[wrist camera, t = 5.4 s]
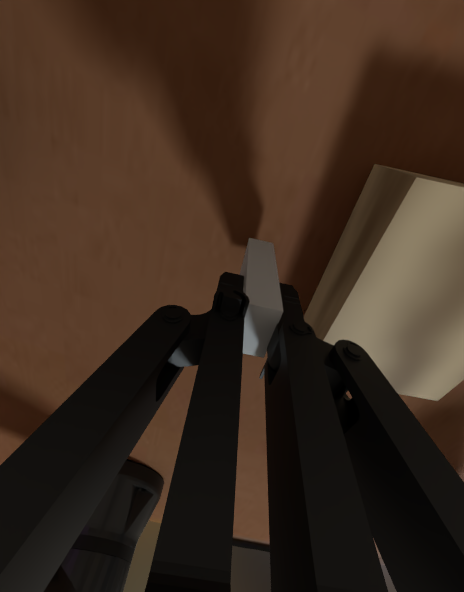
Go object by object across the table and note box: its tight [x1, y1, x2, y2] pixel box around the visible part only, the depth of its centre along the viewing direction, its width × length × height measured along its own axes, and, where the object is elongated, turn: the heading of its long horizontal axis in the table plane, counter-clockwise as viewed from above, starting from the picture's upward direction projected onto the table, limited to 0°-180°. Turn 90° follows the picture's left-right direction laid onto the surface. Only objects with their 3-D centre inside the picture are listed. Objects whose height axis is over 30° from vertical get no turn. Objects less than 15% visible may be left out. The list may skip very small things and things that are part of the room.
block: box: [304, 164, 464, 401], centre depth 15 cm, size 10×13×4 cm
